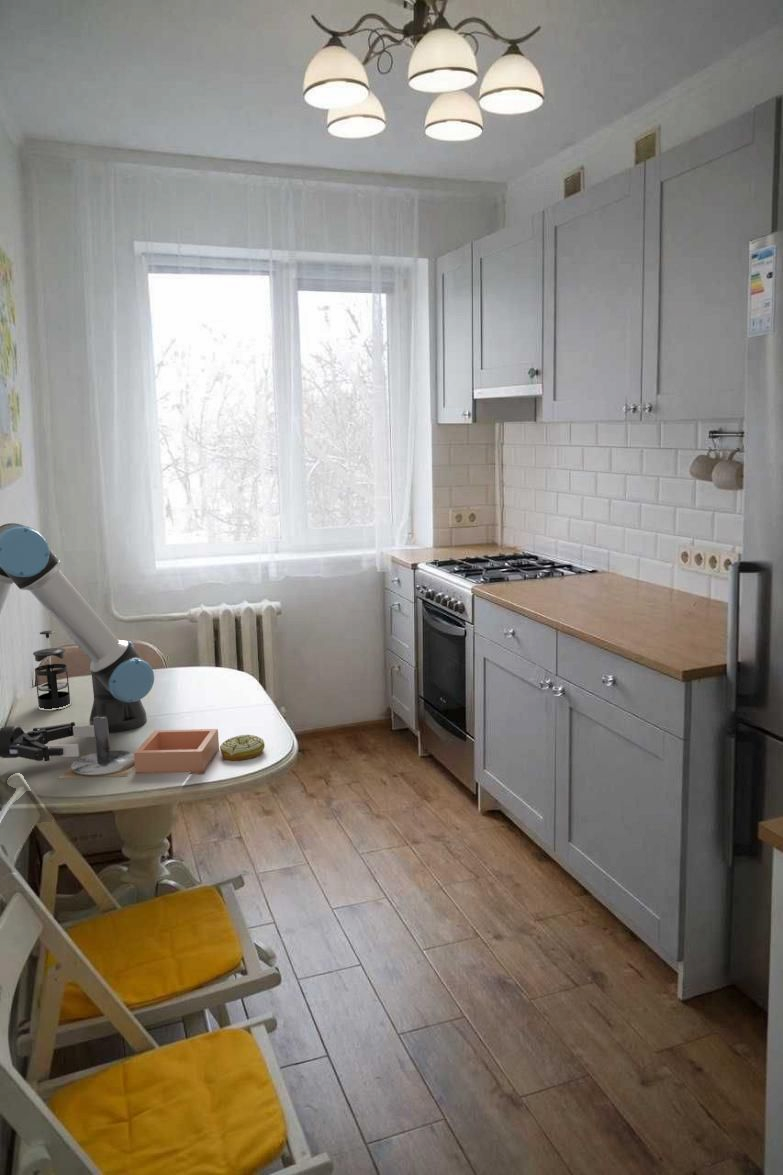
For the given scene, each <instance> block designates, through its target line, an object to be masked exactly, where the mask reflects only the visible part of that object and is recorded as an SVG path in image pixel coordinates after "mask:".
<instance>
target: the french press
mask: <svg viewBox="0 0 783 1175" xmlns="http://www.w3.org/2000/svg"><path fill="white" fill-rule="evenodd" d="M54 633H55V630H43V631H40V632H39V634H40V635H45V638H46V641H47V648H44V649H39V650H36V651H34V652H32V655H33V656H34V659H35V661H36V662H42V661H43V660H45V659H46V658H48V659H49V663H46V664H44V665H40V666H37V667H35V668H34V675H35V683H36V684H35V685H36V686H35V687H36V693H37V702H38V706H39V707H40V708H44V709H52V708H59V707H63V706H66V705H68V704H70V701H71V694H70V686H69V683H70V682H69V675H68V667H67V664H66V663H65V664H64V663H52V660H51V659H52V658H51V656H54V657H57V658H59V659H64V658H65V652H66V649H64V648H62V647H61V648H60V647H50V642H49V641H50V639H49V638H50V634H51V635H52V634H54ZM64 673H65V674H66V681H58V678H57V675H60V674H64ZM38 676H40V677H44V676H46V683H42V684H40V685H38ZM65 688H67V691H65V690H64V689H65ZM60 690H61V691H60ZM63 690H64V691H63ZM39 692H46V693H42V694H39Z"/></svg>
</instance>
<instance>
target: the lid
mask: <svg viewBox="0 0 783 1175" xmlns="http://www.w3.org/2000/svg"><path fill="white" fill-rule="evenodd" d="M93 723H94V733H95V737H94V740H95V741H94V742H95V752H94V753H93V754H90V755H86V756H84V757H81V756H80V757H81V758H80V757H79V758H77V759H76V760H75V761H73V762H72V764H71V766H70V767H72V772H73V773H75V774H77V775H81V776H103V775H110V774H114V773H118V772H121V771H124V770H127V769H129V768H131V767H132V766H134V765H135V760H134V753H132V752H131V751H127V750H119V749H118V750H111V743H110V734H109V733H110V732H109V731H108V720H107V716H105V715H101V716H96V717H94V718H93Z"/></svg>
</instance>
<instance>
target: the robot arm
mask: <svg viewBox="0 0 783 1175" xmlns="http://www.w3.org/2000/svg"><path fill="white" fill-rule="evenodd" d="M60 560H61V559H60V558H59V557H58V556H57V555H56V554H55V552H54V551H53V550H52V549H51V547H50V546H49V543H48V542H47V540H46V538H45V537H44V535H43V534H42V533H41V532H39V530H37V529H34V528H32V527H30V526H26V525H23V524H20V523H13V522H11V523H5V524H2V525H0V614H1V612H2V610H3V607H4V605H5V602H6V600H7V598H8V595H9V592H10V589H11V587H12V585H13V584H15V585H16V586H17V588H18V589H19V590H21V591H23V590H24V591H29V592H30V593H32V595H33V596H34V597H35V599H36V600H37V601H38V602H39V603H40V605H42V606H43V607H44V609H45V610H46V611H47V612H48V613H49V615H50V616H51V617H52V618H53V619H54V620H55V621H56V623H58V625H59V626H60V627H61V629H63V631H64V632H65V633H66V634H67V635H68V636H69V638H70V639H71V640H72V641H73V642H74V644H76V646H77V647H78V648H79V650H81V652H82V653H83V654H84V655H85V656H86V657H87V658H88V660H89V662H90V666H89V670H90V673H91V681H92V682H91V683H92V693H93V704H92V707H91V712H90V716H89V719H88V720H89V725H76V723H75V721H72V722H70V723H62V724H57V725H49V726H44V727H34V728H32V730H30V731H28V732H24V730H23V729H22V727H20V726H17V725H12V726H11V725H8V726H6V725H5V726H1V725H0V758H2V759H16V758H23V759H27V760H33V761H36V762H42V761H44V762H49V761H50V758H61V757H62V758H63V757H65V758H69V757H72V758H73V757H79V756H80V748H79V747H80V746H79V743H74V744H72V743H71V744H70V743H69V744H67V743H64V744H62V743H61V744H49V742H51V741H57V740H61V739H65V738H69V737H73V738H95V733H94V723H93V718H94V717H96V716H101V715H105V716H107V720H108V731H109V733H117V731H118V732H123V731H129V730H132V729H136V728H139V727H141V726H142V725H145V723H147V721H148V718H147V711H146V710H145V707H144V705H143V703H142V700H141V699H143V698H145V697H146V696H148V694H149V693H150V692H151V690H152V688H153V686H154V683H155V672H154V670H153V668H152V666H151V664H150V663H149V662H148V661H146V659H145V660H144V659H143V658H142V657H141V656H140V654H139V653H138V652H137V651H136V650H135V646H134V642H132V641H131V640H124V639H123V640H122V639H118V638H117V636H116V635H115V634H114V633H113V632H112V631H111V629H110V628H109V627H108V626H107V625H106V623H105V622H104V620H102V619H101V617H100V616H99V615H98V614H97V613H96V611H95V610H94V609H93V608H92V607H91V606H90V604H89V603H88V602H87V601H86V599H85V598H84V597H83V596H82V595H81V594H80V592H79V591H78V590H77V589H76V587H74V585H73V583H71V581H69V579H68V578H67V577H66V576H65V575H64V573H63V572H62V571H61V569H60V562H61V561H60ZM47 744H49V746H48V745H47Z"/></svg>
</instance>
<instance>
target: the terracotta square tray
mask: <svg viewBox="0 0 783 1175" xmlns="http://www.w3.org/2000/svg"><path fill="white" fill-rule="evenodd" d="M219 739H220V738H219V729H218V728H206V729H205V728H203V729H202V728H201V729H197V728H196V729H193V728H192V729H166V730H165V729H164V730H162V729H160V730H156V729H155V730H153V731H152V732H151V734H150V735H149V736H148V737H147V738H146V739H144V741H143V742H142V743H141V744H140V745H139V747H138V748H137V749H136V750H135V751H133V752H134V760H135V767H134V769H135V774H152V773H153V774H154V773H156V774H157V773H166V774H167V773H189V775H204V774H205V772H207V770H208V768H209V766H210V765H211V763H212V762H213V760H214V759H215V757H216V756H217V754H218V753H219V751H220V741H219Z"/></svg>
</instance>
